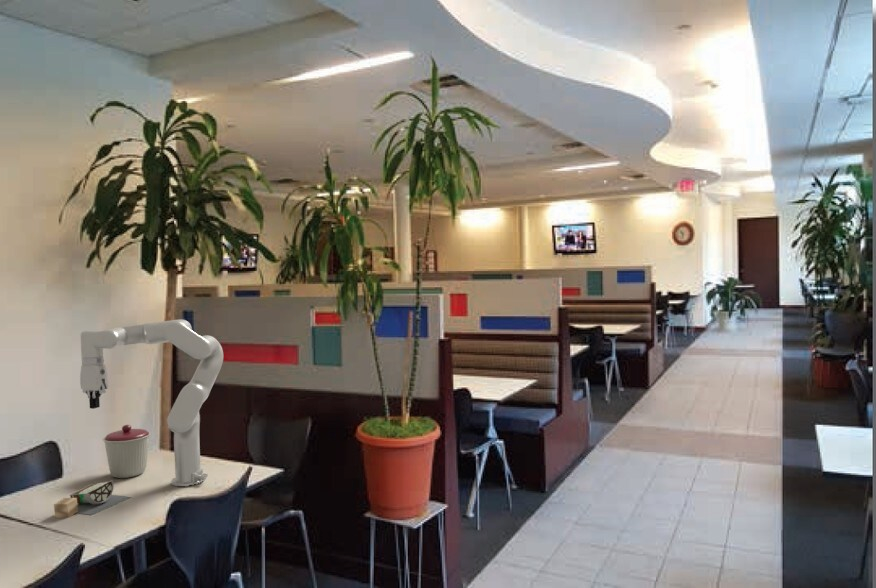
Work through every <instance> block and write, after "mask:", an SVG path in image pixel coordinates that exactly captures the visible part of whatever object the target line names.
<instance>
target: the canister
mask: <svg viewBox="0 0 876 588" xmlns="http://www.w3.org/2000/svg"><path fill="white" fill-rule="evenodd" d="M151 434H152V433H151V432H150V431H149V430H146V429H142V428H132V426H131V424H125V425H123V426H122V427H121V430H120V429H119V430H116V431H112V432H110V433H107V434H106V436H104V437H103V438H102V441H103V442H104V446H105V452H106V457H107V458H106V459H107V464H108V469H109V472H110V475H111V476H112V477H113V478H117V479H127V478H133V477H137V476H139V475H141V474H143V473H144V472H145V471H146V468H147V466H148V465H147V463H148V455H149V444H150V443H149V441H150V440H149V439H150V436H151Z"/></svg>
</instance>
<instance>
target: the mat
mask: <svg viewBox="0 0 876 588" xmlns="http://www.w3.org/2000/svg"><path fill="white" fill-rule="evenodd" d="M131 498H133V497H132V496H126V495H117V494H111V496H110V498H109V499H108V500H106V501H105V502H103V503H101V504H98V505H92V504H90V503H84V504H78V512H77V513H76V514H77V515H83V516H84V515H85V516H92V515H95V514H97V513H100V512H102V511H104V510H106V509H108V508H112V507H113V506H116V505H118V504H121V503H122V502H125V501H127V500H130V499H131Z"/></svg>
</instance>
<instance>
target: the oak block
mask: <svg viewBox="0 0 876 588" xmlns="http://www.w3.org/2000/svg"><path fill="white" fill-rule="evenodd" d="M78 506H79V503H77V498H71V497H63V498H61V499H60V500H58V501H56V502H55V503H54V504H53V509H54V516H55V518H65V519H67V518H70V517H72V516H74V515H75V514H77V512H78Z"/></svg>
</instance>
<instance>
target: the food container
mask: <svg viewBox="0 0 876 588" xmlns="http://www.w3.org/2000/svg"><path fill="white" fill-rule="evenodd" d="M114 483H115V482H114V480H108V481H103V482H98V483H91V484H88V485H86V486H85V487H83V488H81V489H79V490H77V491H75V492H73V493H72V494H70V495H69V496H70V497H69V498H77V504H78V505H82V504H84V503H90V504H92V505H98V504H101V503H103V502H105V501H106V500H108V499H109V498H110V496H111V495H113V492H114V489H115V488H114V487H115V486H114V485H115V484H114Z"/></svg>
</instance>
